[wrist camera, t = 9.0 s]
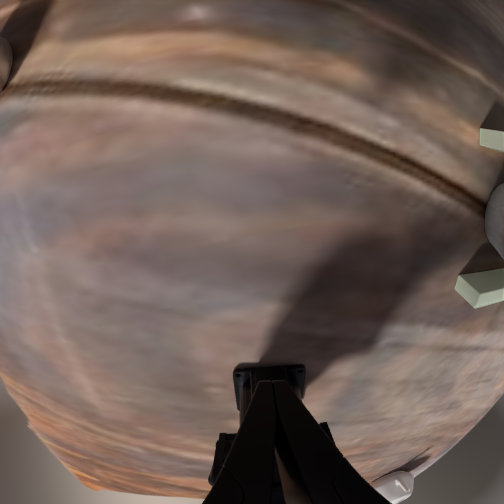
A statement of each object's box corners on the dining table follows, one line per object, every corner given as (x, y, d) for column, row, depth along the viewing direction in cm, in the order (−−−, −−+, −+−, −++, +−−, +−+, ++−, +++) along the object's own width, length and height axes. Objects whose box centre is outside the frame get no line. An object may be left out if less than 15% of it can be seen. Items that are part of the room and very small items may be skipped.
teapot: (374, 472, 41) (385, 508, 32) (422, 454, 41) (435, 487, 32) (356, 494, 49) (363, 522, 40) (397, 481, 49) (405, 508, 40)
